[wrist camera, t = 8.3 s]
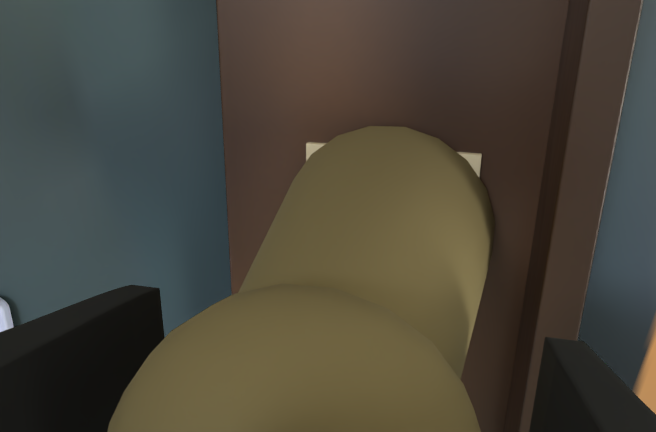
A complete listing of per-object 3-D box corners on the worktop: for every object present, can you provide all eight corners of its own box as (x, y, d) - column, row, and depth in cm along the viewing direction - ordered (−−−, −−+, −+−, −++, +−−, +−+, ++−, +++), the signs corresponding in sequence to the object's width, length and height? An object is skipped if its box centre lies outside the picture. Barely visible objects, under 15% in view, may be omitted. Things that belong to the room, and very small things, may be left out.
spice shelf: (251, 396, 22) (208, 475, 18) (228, -153, 15) (155, -201, 12) (525, 441, 20) (539, 540, 16) (629, -171, 13) (690, -237, 10)
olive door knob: (485, 110, 15) (521, 347, 5) (503, 318, 16) (558, 813, 6) (266, 139, 16) (-64, 361, 6) (304, 325, 18) (100, 729, 8)
